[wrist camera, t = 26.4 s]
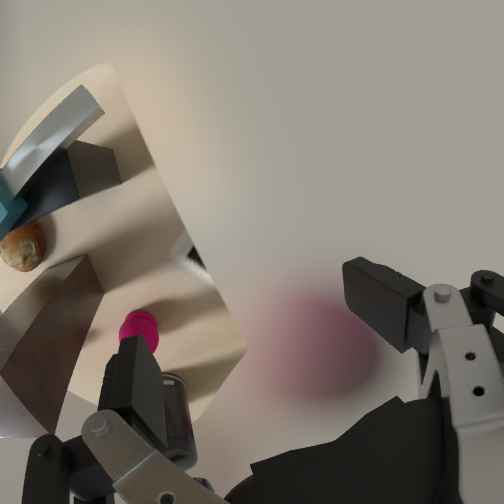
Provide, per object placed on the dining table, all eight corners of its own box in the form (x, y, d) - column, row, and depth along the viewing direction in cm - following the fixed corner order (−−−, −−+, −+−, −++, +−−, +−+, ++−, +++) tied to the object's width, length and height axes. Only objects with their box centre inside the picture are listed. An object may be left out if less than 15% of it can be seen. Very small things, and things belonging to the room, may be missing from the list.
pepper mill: (153, 304, 49) (148, 377, 30) (163, 336, 51) (166, 413, 33) (117, 311, 47) (97, 384, 29) (129, 342, 49) (119, 419, 31)
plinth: (104, 293, 46) (54, 437, 16) (62, 307, 44) (-4, 437, 14) (87, 253, 43) (-1, 373, 13) (44, 270, 41) (-50, 381, 12)
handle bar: (111, 121, 20) (100, 113, 16) (3, 240, 19) (-17, 251, 16) (83, 83, 18) (69, 70, 14) (-21, 203, 18) (-42, 210, 14)
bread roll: (13, 245, 41) (-4, 274, 35) (6, 203, 35) (-17, 230, 29) (51, 256, 44) (37, 287, 38) (47, 212, 38) (27, 243, 32)
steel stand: (121, 183, 41) (79, 199, 21) (70, 204, 40) (3, 235, 19) (112, 149, 39) (63, 136, 19) (60, 171, 37) (-13, 179, 17)
